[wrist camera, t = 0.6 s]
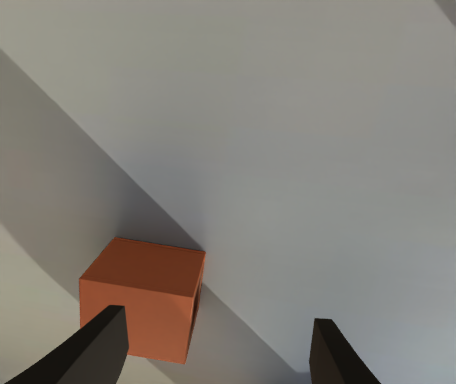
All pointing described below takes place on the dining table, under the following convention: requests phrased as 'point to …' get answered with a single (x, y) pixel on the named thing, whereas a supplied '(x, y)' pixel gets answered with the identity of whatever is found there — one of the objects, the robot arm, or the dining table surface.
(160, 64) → the dining table surface
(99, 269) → the orange open-ended box
